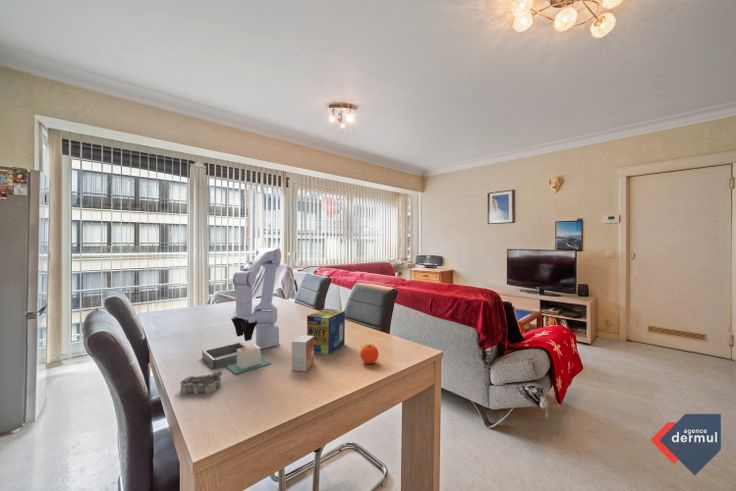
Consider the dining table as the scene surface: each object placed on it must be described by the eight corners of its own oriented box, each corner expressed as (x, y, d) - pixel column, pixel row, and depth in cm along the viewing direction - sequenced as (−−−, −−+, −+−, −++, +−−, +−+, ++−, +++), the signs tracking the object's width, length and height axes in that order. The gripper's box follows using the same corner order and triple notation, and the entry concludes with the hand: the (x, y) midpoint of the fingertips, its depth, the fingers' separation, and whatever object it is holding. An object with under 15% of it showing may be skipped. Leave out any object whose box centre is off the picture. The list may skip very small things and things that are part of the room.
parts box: (236, 365, 109) (236, 348, 109) (255, 360, 114) (255, 344, 114) (241, 369, 106) (241, 351, 106) (260, 363, 110) (260, 347, 110)
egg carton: (224, 383, 96) (224, 371, 96) (211, 395, 88) (211, 382, 88) (191, 383, 96) (192, 370, 96) (176, 394, 89) (176, 381, 89)
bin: (239, 349, 127) (239, 342, 127) (253, 357, 117) (253, 350, 117) (202, 358, 117) (202, 350, 117) (213, 368, 107) (213, 360, 107)
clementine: (354, 363, 112) (354, 344, 112) (365, 357, 118) (365, 339, 118) (371, 368, 107) (371, 348, 107) (382, 362, 113) (382, 343, 113)
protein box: (306, 352, 123) (306, 315, 123) (325, 341, 137) (325, 308, 137) (328, 356, 119) (328, 317, 119) (345, 344, 134) (345, 310, 134)
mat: (260, 357, 117) (260, 356, 117) (270, 364, 111) (270, 363, 111) (226, 367, 108) (226, 365, 108) (235, 374, 102) (235, 373, 102)
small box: (305, 372, 104) (306, 342, 104) (291, 370, 105) (291, 341, 105) (314, 363, 112) (314, 335, 112) (300, 362, 113) (300, 334, 113)
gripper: (226, 301, 115) (226, 336, 115) (241, 306, 105) (240, 345, 105) (244, 298, 120) (244, 332, 120) (260, 304, 110) (260, 340, 110)
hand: (244, 338), depth 113 cm, fingers open, 7 cm apart
